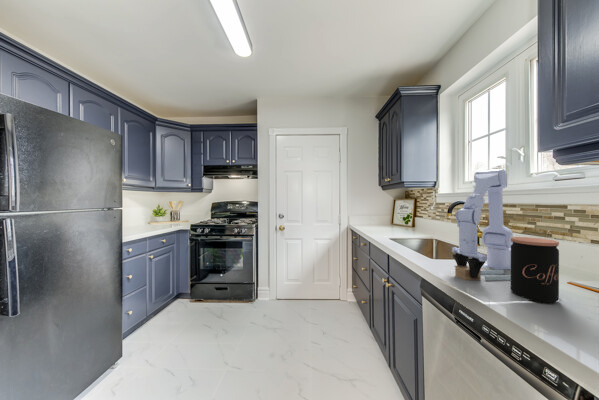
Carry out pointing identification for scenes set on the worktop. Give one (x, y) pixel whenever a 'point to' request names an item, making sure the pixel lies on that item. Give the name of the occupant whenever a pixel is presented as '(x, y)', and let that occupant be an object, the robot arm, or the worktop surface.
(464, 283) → the worktop surface
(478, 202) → the robot arm
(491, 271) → the acrylic channel
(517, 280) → the coffee jar
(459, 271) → the walnut block
